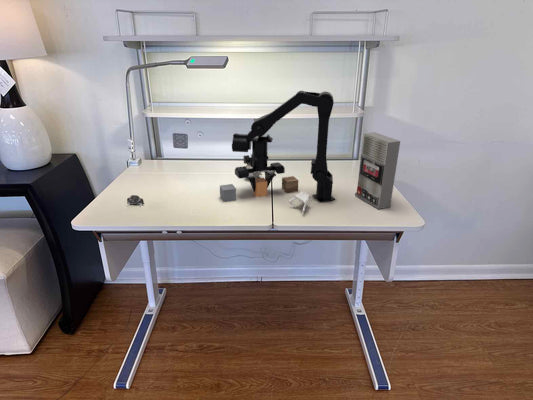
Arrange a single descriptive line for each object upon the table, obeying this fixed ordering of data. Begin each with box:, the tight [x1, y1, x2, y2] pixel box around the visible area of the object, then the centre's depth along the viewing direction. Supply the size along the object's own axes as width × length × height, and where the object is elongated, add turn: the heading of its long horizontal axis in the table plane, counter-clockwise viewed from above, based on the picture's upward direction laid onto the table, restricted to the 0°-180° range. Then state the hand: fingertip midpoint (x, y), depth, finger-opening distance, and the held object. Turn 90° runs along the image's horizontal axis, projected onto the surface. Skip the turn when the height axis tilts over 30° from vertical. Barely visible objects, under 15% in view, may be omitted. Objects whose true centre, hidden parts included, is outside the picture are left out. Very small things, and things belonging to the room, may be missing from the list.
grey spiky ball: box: [245, 163, 263, 179], centre depth 163 cm, size 9×8×10 cm
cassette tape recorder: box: [354, 132, 401, 210], centre depth 138 cm, size 14×6×25 cm, turn 24°
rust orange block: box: [252, 177, 268, 198], centre depth 148 cm, size 4×4×6 cm
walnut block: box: [281, 175, 299, 194], centre depth 152 cm, size 5×5×5 cm
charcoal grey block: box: [219, 183, 237, 203], centre depth 144 cm, size 5×5×5 cm
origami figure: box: [288, 190, 312, 216], centre depth 136 cm, size 12×8×5 cm
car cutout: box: [126, 194, 145, 208], centre depth 138 cm, size 15×7×4 cm, turn 86°
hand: (259, 190), depth 148 cm, fingers closed on rust orange block, 4 cm apart
